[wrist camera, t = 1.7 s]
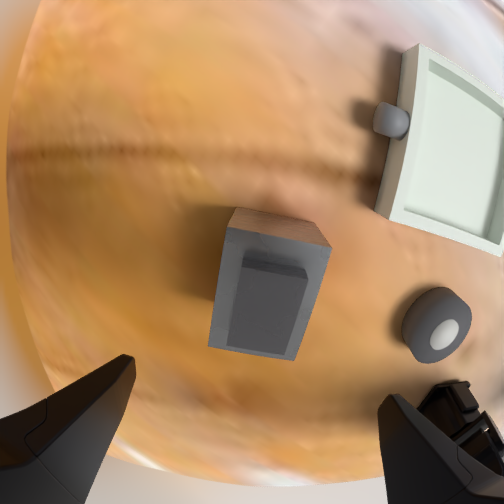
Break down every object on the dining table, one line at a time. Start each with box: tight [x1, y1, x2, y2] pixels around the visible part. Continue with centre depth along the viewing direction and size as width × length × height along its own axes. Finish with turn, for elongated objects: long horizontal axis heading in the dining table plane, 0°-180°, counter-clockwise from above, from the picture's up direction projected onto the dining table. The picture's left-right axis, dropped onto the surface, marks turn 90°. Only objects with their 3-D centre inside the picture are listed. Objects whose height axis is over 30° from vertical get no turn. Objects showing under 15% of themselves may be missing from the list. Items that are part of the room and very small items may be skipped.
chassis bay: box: [373, 43, 504, 257], centre depth 14 cm, size 12×15×2 cm
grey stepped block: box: [208, 207, 332, 361], centre depth 16 cm, size 7×5×6 cm
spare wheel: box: [402, 287, 472, 364], centre depth 19 cm, size 6×6×3 cm
